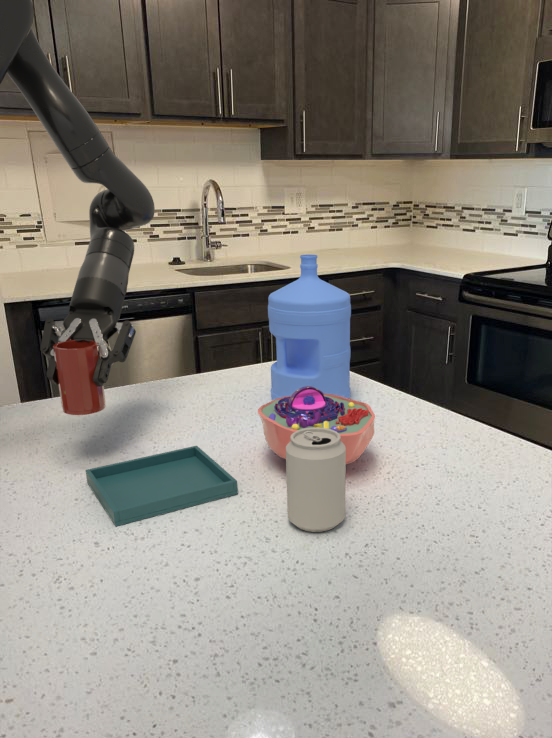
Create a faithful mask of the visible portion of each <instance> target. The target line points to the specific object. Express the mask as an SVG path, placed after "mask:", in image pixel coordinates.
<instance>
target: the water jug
mask: <svg viewBox="0 0 552 738" xmlns="http://www.w3.org/2000/svg"><path fill="white" fill-rule="evenodd" d="M299 258H300V264H299V268H300V276H299V277H298V279H296V280H294V281H292V282H290V283H288V284H286V285H285V286H283V287H280V288H279V289H277V290H274V291H273V292H270V294H269V295H268V296H267V297H268V298H267V299H268V303H267V318H268V329H269V332H270V334H271V335H273V336H274V338H275V346H276V348H275V349H276V361H274V362H273V363H272V364H271V366H270V382H271V383H270V384H271V385H270V399H271V401H272V400H275V399H277V398H281V397H286V396H291V395H292V394H293V393H294V392H295V391H296V390H298V389H300V388H302V387H305V386H311V387H314V388H316V389H318V390H320V391H322V392H323V393H324V394H333V395H338V396H342V397H345V398H349V399H351V387H350V378H351V377H350V372H351V371H350V370H351V369H350V368H351V367H350V366H351V365H350V364H351V363H350V362H351V356H352V355H351V352H352V351H351V318H352V317H351V316H352V304H351V295H350V293H348V292H347V291H345V290H343V289H341V288H339V287H337V286H335V285H333V284H331V283H329V282H327V281H325V280H322V279H321V278H320V277H319V276H318V265H319V264H318V262H317V261H318V260H317V259H318V255H317V254H301V255H300V256H299Z"/></svg>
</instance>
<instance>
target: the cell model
mask: <svg viewBox="0 0 552 738" xmlns="http://www.w3.org/2000/svg"><path fill="white" fill-rule="evenodd" d="M257 414H258V416H259V418H260V421H261V423H262V429H263V430H262V431H263V436H264V439H265V441H266V443H267V445H268V447H269V449H270V450H271V451H272V452H273V453H275V454H276V455H277V456H278V457H279V458H281V459H284V460H286V446H287V445H288V443H289V442H290V441H291V435H292V434H293V433H294V432H296V431H298V430H301V429H305V428H317V427H319V428H327V429H331V430H334V431H336V432H338V433H339V434H340V437H341V439H340V441H341V442H342V443H343V444H344V445H345V448H346V466H347V465H349V464H352V463H354V462H355V461H357V460H358V459H359V458H360V457H361V456H362V455H363V453H364V452H365V451H366V449H367V447H368V445H369V444H370V442H371V441H372V439H373V437H375V420H376V415H375V412H374V411H373V409H372V407H371V406H370V405H369V404H368V403H366V402H364V401H363V402H362V401H359V400H355V399H352V398H350V399H349V398H345V397H342V396H338V395H333V394H324V393H323V392H322V391H320V390H318V389H316V388H314V387H311V386H305V387H302V388H300V389H298V390H296V391H295V392H294V393H293V394H292V395H291V396H286V397H281V398H277V399H275V400H272V399H271V400H270V401H269V402H266V403H265V404H262V405H261V406H259V407H258V409H257Z"/></svg>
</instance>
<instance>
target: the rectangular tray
mask: <svg viewBox="0 0 552 738" xmlns="http://www.w3.org/2000/svg"><path fill="white" fill-rule="evenodd" d="M84 472H85V477H86V484H87V485H88V486H89V488H90V489H91V491H92V492H93V494H94V495H95V498H96V499H97V500H98V502H99V503H100V505H101V506H102V508H103V509H104V511H105V512H106V514H107V516H108V517H109V518H110V520H111V522H112V523H113V525H114V526H115V527H119V526H123V525H126V524H130V523H134V522H138V521H141V520H145V519H148V518H152V517H156V516H161V515H164V514H167V513H172V512H176V511H179V510H184V509H187V508H190V507H194V506H198V505H202V504H206V503H210V502H212V501H217V500H220V499H225V498H229V497H231V496H235V495H238V494H239V491H238V490H239V489H238V480H237V479H235V478H234V477H233V476H232V475H231V474H230V473H229V472H228V471H227V470H225V469H224V468H223V466H221V465H220V464H218V462H217V461H215V460H214V459H213V458H212V457H211V456H210V455H208V454H207V453H206V452H205V451H204V450H203V449H202V448H200V447H199V446H198V445H193V446H188V447H184V448H180V449H175V450H169V451H165V452H161V453H157V454H151V455H148V456H147V455H146V456H143V457H139V458H134V459H129V460H123V461H119V462H116V463H111V464H106V465H102V466H97V467H93V468H87V469H85V471H84ZM209 501H210V502H209Z"/></svg>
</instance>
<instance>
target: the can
mask: <svg viewBox="0 0 552 738" xmlns="http://www.w3.org/2000/svg"><path fill="white" fill-rule="evenodd" d="M340 439H341V437H340V434H339V433H338V432H336V431H334V430H331V429H327V428H319V427H317V428H305V429H301V430H298V431H296V432H294V433H293V434H292V435H291V441H290V442H289V443H288V445H287V446H286V459H285V472H286V474H285V475H286V504H287V505H286V507H287V508H286V510H287V519H288V521H289V522H290V523H292V524H293V525H294V526H295V527H297V528H298V529H299V530H302V531H305V532H312V533H322V532H327V531H330V530H333V529H334V528H335V527H337V526H338V525H340V523H342V522H343V521H344V519H345V517H346V470H347V469H346V468H347V467H346V466H347V465H346V448H345V445H344V444H343V443H342V442H341V441H340Z"/></svg>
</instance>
